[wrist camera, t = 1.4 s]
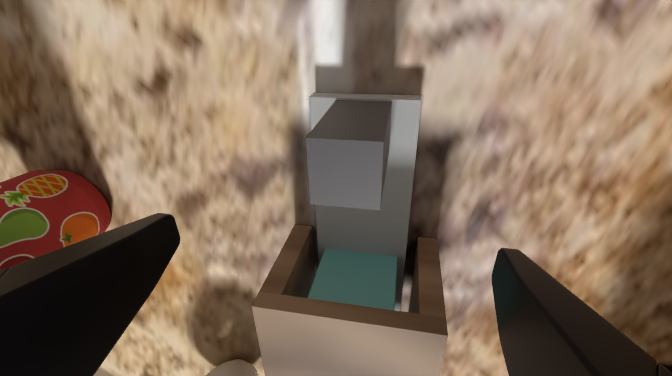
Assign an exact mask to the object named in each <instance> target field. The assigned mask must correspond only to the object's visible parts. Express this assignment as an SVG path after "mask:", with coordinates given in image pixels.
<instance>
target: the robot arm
mask: <svg viewBox="0 0 672 376" xmlns="http://www.w3.org/2000/svg"><path fill="white" fill-rule="evenodd" d="M179 243H180V235H179V231H178V228H177V225H176V221H175V218H174V217H173V216H172V215H171V214H163V213H157V214H154V215H151V216H149V217H146V218H143V219H140V220H137V221H135V222H132V223H129V224H126V225H124V226H121V227H118V228H115V229H113V230H110V231H107V232H104V233H102V234H99V235H96V236H93V237H91V238H88V239H85V240H82V241H80V242H77V243H74V244H71V245H69V246H66V247H63V248H60V249H58V250H55V251H52V252H49V253H47V254H44V255H41V256H38V257H36V258H33V259H30V260H27V261H25V262H22V263H19V264H16V265H14V266H12V267H11V268H5V269H2V270H0V376H93V375H94V374H95V373H96V371H97V370H98V368H99V367H100V366H101V364H102V363H103V361H104V360H105V358H106V357H107V356H108V354H109V353H110V351H111V350H112V348H113V347H114V346H115V344H116V343H117V341H118V340H119V338H120V337H121V336H122V334H123V333H124V331H125V330H126V328H127V327H128V325H129V324H130V323H131V321H132V320H133V318H134V317H135V315H136V314H137V313H138V311H139V310H140V308H141V307H142V305H143V304H144V303H145V301H146V300H147V298H148V297H149V295H150V294H151V292H152V291H153V289H154V288H155V286H156V285H157V283H158V281H159V279H160V278H161V276H162V274H163V272H164V271H165V269H166V267H167V265H168V264H169V262H170V260H171V258H172V256H173V255H174V253H175V251H176V249H177V248H178V246H179ZM492 287H493V294H494V301H495V309H496V316H497V324H498V331H499V337H500V342H501V347H502V351H503V355H504V358H505V362H506V366H507V370H508V374H509V376H672V367H667V368H665V367H664V366H663V365H660V364H659V365H657V361H656V360H655V359H654V358H652V357H651V356H650V355H649V354H647V353H646V352H645V351H644V350H642V349H641V348H640V347H639V346H638V345H636V344H635V343H634V342H633V341H631V340H630V339H629V338H628V337H626V336H625V335H624V334H623V333H621V332H620V331H619V330H618V329H616V328H615V327H614V326H613V325H611V324H610V323H609V322H608V321H607V320H605V319H604V318H603V317H602V316H600V315H599V314H598V313H597V312H595V311H594V310H593V309H592V308H590V307H589V306H588V305H587V304H585V303H584V302H583V301H582V300H580V299H579V298H578V297H577V296H576V295H574V294H573V293H572V292H571V291H569V290H568V289H567V288H566V287H564V286H563V285H562V284H561V283H559V282H558V281H557V280H556V279H554V278H553V277H552V276H551V275H549V274H548V273H547V272H546V271H544V270H543V269H542V268H541V267H540V266H538V265H537V264H536V263H535V262H533V261H532V260H531V259H530V258H528V257H527V256H526V255H525V254H523V253H522V252H521V251H519V250H517V249H509V248H501V249H500V250H499V251H498V254H497V257H496V261H495V265H494V269H493V273H492Z"/></svg>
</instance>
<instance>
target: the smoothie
mask: <svg viewBox="0 0 672 376" xmlns="http://www.w3.org/2000/svg"><path fill="white" fill-rule="evenodd" d="M110 221H111V213H110V210H109V206H108V204H107V202H106V200H105V199H104V197H103V195H102V194H101V193H100V192H99V191H98V190H97V189H96V187H95V186H94V185H92V184H91V183H90V182H89V181H87V180H86V179H85V178H83V177H81V176H79V175H77V174H75V173H73V172H70V171H65V170H55V171H50V172H49V171H44V170H37V171H31V172H28V173H25V174H23V175H20V176H17V177H14V178H12V179H9V180H6V181H4V182H1V183H0V270H2V269H5V268H11V267H12V266H14V265H16V264H19V263H22V262H25V261H27V260H30V259H33V258H36V257H38V256H41V255H44V254H47V253H49V252H52V251H55V250H58V249H60V248H63V247H66V246H69V245H71V244H74V243H77V242H80V241H82V240H85V239H88V238H91V237H93V236H96V235H99V234H102V233H104V232H105V230H106V229H107V228H108V226H109V224H110Z"/></svg>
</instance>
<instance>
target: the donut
mask: <svg viewBox="0 0 672 376" xmlns="http://www.w3.org/2000/svg"><path fill="white" fill-rule="evenodd" d="M206 376H258V373H257V370H256V369H255V367H254V366H253V365H252V364H250V363H248V362H246V361H244V360H240V359H236V360H231V361H227V362H224V363H222V364H221V365H219V366H217V367H216V368H214V369H213V370H211V371H210V372H209V373H208V374H207V375H206Z"/></svg>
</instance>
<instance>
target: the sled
mask: <svg viewBox="0 0 672 376" xmlns="http://www.w3.org/2000/svg"><path fill="white" fill-rule="evenodd" d="M309 105H310V122H311V132H310V133H309V134H308V136H307V137H306V149H307V165H308V180H309V195H310V204H313V205H315V209H316V226H317V243H318V261H319V267H318V270H317V273H316V276H315V279H314V282H313V284H312V287H311V290H310V293H309V296H308V298H309V299H316V300H323V301H330V302H337V303H345V304H352V305H359V306H366V307H373V308H380V309H387V310H394V311H400V306H401V296H402V286H403V276H404V267H405V257H406V247H407V237H408V227H409V218H410V208H411V198H412V188H413V179H414V169H415V159H416V149H417V140H418V130H419V120H420V110H421V95H384V94H345V93H313V94H312V95H311V96H310V97H309Z"/></svg>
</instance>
